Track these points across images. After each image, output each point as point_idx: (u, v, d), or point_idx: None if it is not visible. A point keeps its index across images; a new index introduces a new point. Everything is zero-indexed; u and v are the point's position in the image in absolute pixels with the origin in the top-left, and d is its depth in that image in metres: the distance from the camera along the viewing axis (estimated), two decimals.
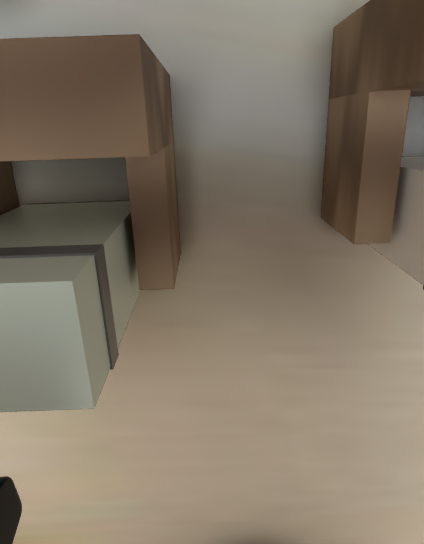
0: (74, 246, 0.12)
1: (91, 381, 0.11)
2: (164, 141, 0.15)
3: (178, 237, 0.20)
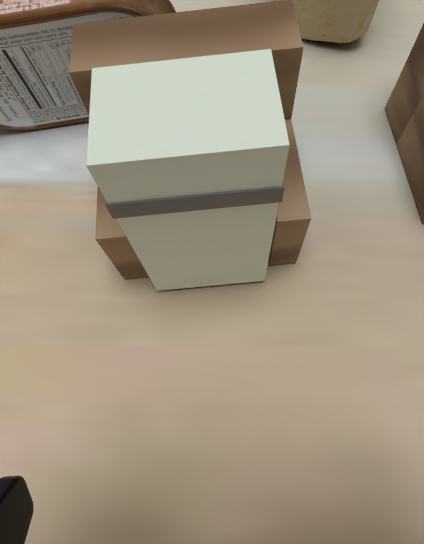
0: None
1: (285, 124, 0.12)
2: None
3: None
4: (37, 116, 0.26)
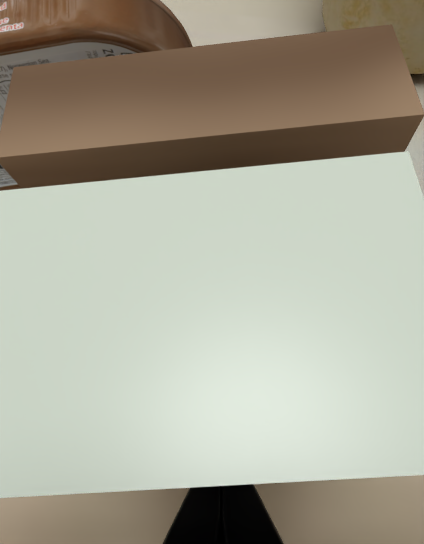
0: None
1: None
2: None
3: None
4: None
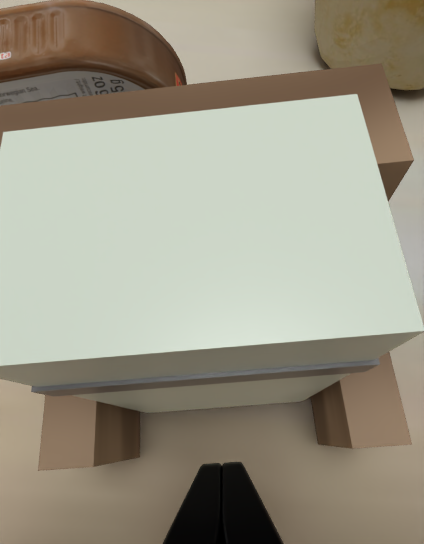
0: None
1: (404, 271, 0.05)
2: None
3: None
4: None
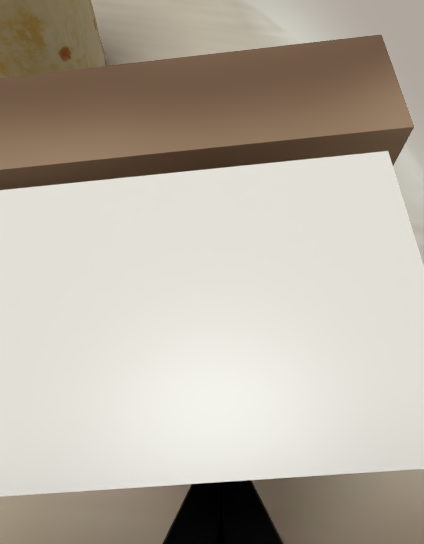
0: None
1: None
2: None
3: None
4: None
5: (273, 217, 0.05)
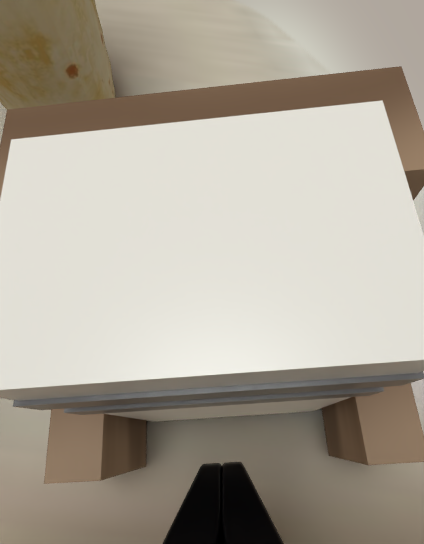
0: None
1: None
2: None
3: None
4: None
5: (278, 158, 0.06)
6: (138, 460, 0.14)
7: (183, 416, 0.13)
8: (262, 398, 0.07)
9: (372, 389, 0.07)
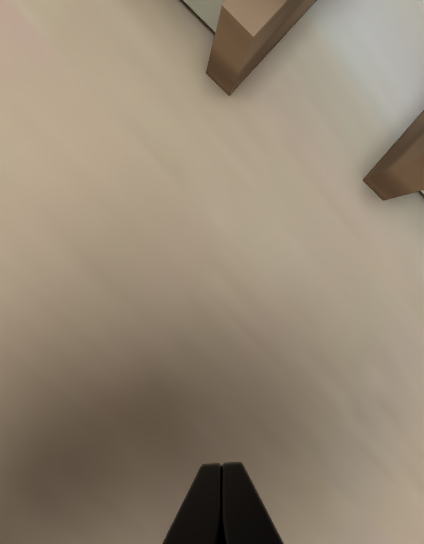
0: None
1: None
2: None
3: (248, 70, 0.18)
4: None
5: None
6: (399, 192, 0.19)
7: None
8: None
9: None
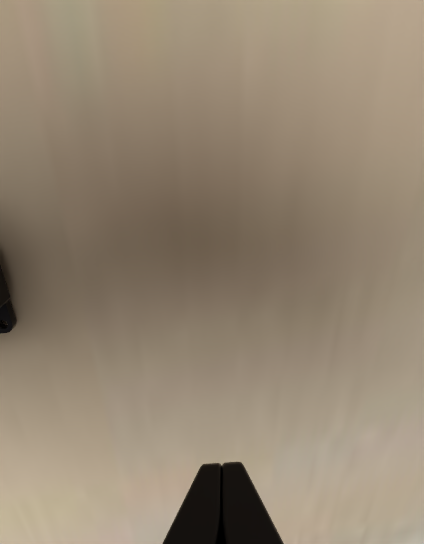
0: None
1: None
2: None
3: None
4: None
5: None
6: None
7: None
8: None
9: None
